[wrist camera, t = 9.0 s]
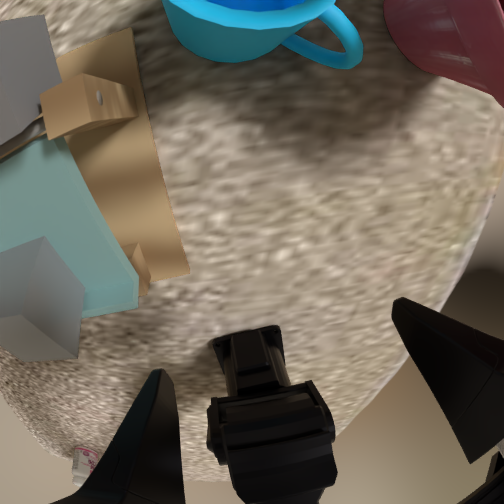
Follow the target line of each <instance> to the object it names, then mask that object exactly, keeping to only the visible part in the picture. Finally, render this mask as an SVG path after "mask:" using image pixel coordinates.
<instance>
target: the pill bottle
mask: <svg viewBox="0 0 504 504" xmlns="http://www.w3.org/2000/svg"><path fill="white" fill-rule="evenodd" d="M97 460H98V454H97V452H95V451H94V450H92V449H90V448H87V447H83V446H76V447H75V451H74V458H73V466H72V474H73V475H74V477H73V484H75V485H76V486H79V487H81V486H82V485H83V484H84V482H85V481H86V479H87V478H88V477H89V475H90V474H91V472H92V471H93V470H94V468H95V467H96V465H97Z"/></svg>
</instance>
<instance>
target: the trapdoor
mask: <svg viewBox="0 0 504 504" xmlns="http://www.w3.org/2000/svg"><path fill="white" fill-rule="evenodd" d="M60 83H62V79H61V75H60V72H59V69H58V66H57V62H56V59H55V56H54V52H53V48H52V45H51V41H50V37H49V33H48V29H47V24H46V20H45V15H36V16H29V17H22V18H16V19H11V20H5V21H1V22H0V145H2V144H3V143H5V142H6V141H8V140H9V139H11V138H13V137H14V136H16V135H17V134H19V133H21V132H22V131H23V130H24V129H25V128H26V127H27V126H28V125H29V124H30V123H31V122H32V121H33V120H34V119H35V118H37V117H38V116H39V115H40V114H41V113H42V107H41V101H40V95H39V94H41V93H43V92H45V91H47V90H48V89H50V88H52V87H54V86H56V85H58V84H60ZM42 236H45V237H46V238H47V239H48V241H49V242H50V244H51V245H52V246H53V248H54V249H55V250H56V252H57V253H58V254H59V256H60V257H61V258H62V260H63V261H64V262H65V263H66V265H67V266H68V267H69V269H70V270H71V271H72V272H73V273H74V275H75V276H76V277H77V278H78V280H79V281H80V282H81V283H82V284H83V286H84V287H85V295H84V302H83V309H82V317H81V319H83V318H88V317H94V316H99V315H105V314H110V313H115V312H120V311H126V310H131V309H136V308H138V290H139V276H138V274H137V273H136V271H135V269H134V268H133V266H132V265H131V263H130V261H129V260H128V258H127V257H126V255H125V253H124V252H123V250H122V248H121V247H120V245H119V243H118V242H117V240H116V238H115V237H114V235H113V233H112V231H111V230H110V228H109V226H108V224H107V223H106V221H105V219H104V217H103V216H102V214H101V212H100V210H99V208H98V206H97V205H96V203H95V201H94V199H93V197H92V195H91V193H90V191H89V189H88V187H87V185H86V183H85V181H84V179H83V177H82V175H81V173H80V171H79V169H78V167H77V165H76V163H75V161H74V158H73V156H72V154H71V152H70V150H69V147H68V145H67V143H66V141H65V138H64V137H60V138H56V139H53V140H48V136H47V133H45V134H43V135H41V136H40V137H38V138H36V139H34V140H32V141H30V142H28V143H27V144H25V145H23V146H21V147H20V148H18V149H16V150H15V151H13V152H11V153H10V154H8V155H6V156H5V157H3V158H2V159H0V252H3V251H5V250H8V249H10V248H13V247H16V246H18V245H21V244H23V243H26V242H29V241H31V240H34V239H37V238H40V237H42Z"/></svg>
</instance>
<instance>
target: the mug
mask: <svg viewBox="0 0 504 504" xmlns="http://www.w3.org/2000/svg"><path fill="white" fill-rule="evenodd" d="M335 1H336V0H162V3H163V6H164V9H165V12H166V14H167V17H168V20H169V23H170V26H171V28H172V31H173V33H174V35H175V36H176V37H177V39H178V40H179V41H180V43H181V44H182V45H183V46H184V47H185V48H187V49H188V50H190V51H191V52H193V53H194V54H196V55H197V56H200V57H203V58H206V59H209V60H212V61H215V62H229V63H237V62H243V61H248V60H254V59H256V58H258V57H260V56H262V55H264V54H266V53H269V52H271V51H272V50H273V49H274V48H276V47H277V46H278V45H279V44H282V45H283V46H285V47H287V48H288V49H290V50H292V51H294V52H296V53H298V54H300V55H302V56H304V57H306V58H308V59H311V60H313V61H315V62H317V63H320V64H322V65H326V66H329V67H332V68H336V69H351V68H353V67H354V66H356V65H357V64H359V63H360V62H361V61H362V58H363V47H364V46H363V43H362V40H361V38H360V36H359V34H358V32H357V29H356V28H355V27H354V25H353V24H352V23H351V22H350V21H349V19H348V18H347V17H346V16H345V15H344V13H343V12H342V11H341V10H340V9H339V8H338V7H336V6H335V5H334V3H335ZM316 17H317V18H319V19H320V20H321V21H322V22H324V23H325V24H326V25H327V26H328V27H329V28H330V29H331V31H332V32H333V33H334V34H335V35H336V36H337V37H338V38H339V40H340V41H341V43H342V45H343V47H344V49H345V52H342V53H340V52H336V51H332V50H328V49H326V48H323V47H321V46H318V45H316V44H313V43H312V42H310V41H308V40H306V39H304V38H302V37H300V36H298V35H296V34H294V33H295V32H297V31H298V30H299V29H301V28H302V27H304V26H305V25H306V24H308V23H309V22H311V21H312V20H314V19H315V18H316Z"/></svg>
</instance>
